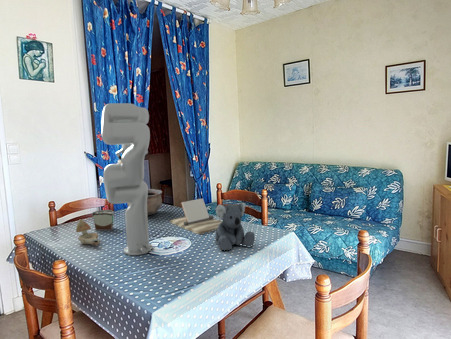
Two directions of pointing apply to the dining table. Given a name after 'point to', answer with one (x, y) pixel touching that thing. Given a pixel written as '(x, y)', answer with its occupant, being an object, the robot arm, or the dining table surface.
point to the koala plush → (232, 227)
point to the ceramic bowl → (153, 201)
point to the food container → (103, 219)
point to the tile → (195, 211)
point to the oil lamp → (86, 234)
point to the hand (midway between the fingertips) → (133, 167)
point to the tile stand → (197, 225)
